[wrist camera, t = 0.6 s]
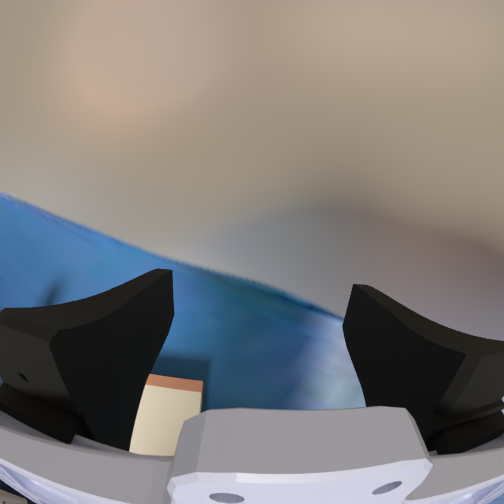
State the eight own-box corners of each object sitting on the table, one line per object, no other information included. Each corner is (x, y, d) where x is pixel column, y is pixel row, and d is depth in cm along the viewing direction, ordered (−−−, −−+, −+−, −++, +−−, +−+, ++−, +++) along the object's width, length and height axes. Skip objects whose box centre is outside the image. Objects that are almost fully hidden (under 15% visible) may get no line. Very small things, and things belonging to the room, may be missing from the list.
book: (196, 496, 17) (194, 498, 15) (102, 477, 16) (89, 476, 14) (203, 391, 24) (202, 381, 22) (118, 378, 23) (109, 366, 21)
